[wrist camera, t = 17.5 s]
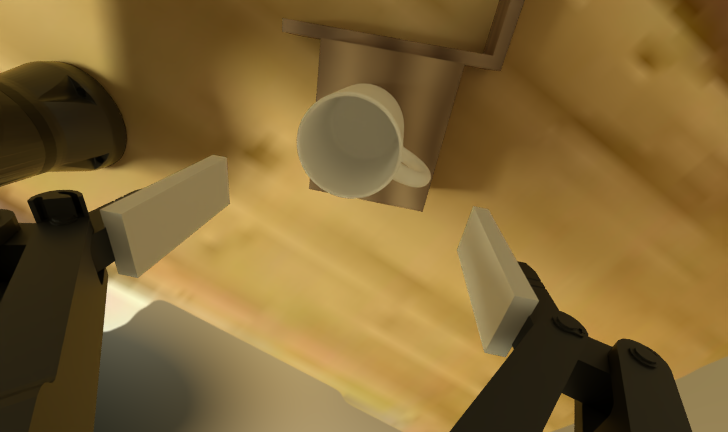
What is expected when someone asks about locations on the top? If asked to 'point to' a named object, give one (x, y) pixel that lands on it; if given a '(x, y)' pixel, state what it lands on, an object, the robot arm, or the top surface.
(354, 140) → the mug
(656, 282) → the top surface
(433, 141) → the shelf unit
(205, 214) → the robot arm
